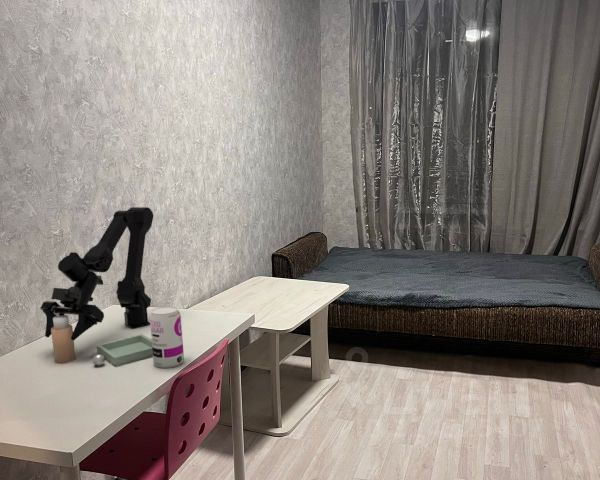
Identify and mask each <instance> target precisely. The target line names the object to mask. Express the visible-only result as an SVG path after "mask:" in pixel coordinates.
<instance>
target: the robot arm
mask: <svg viewBox="0 0 600 480" xmlns="http://www.w3.org/2000/svg"><path fill="white" fill-rule="evenodd" d="M153 221H154V212H153V211H152V209H151V208H149V207H147V206H145V207H144V206H141V207H140V206H136V207H135V206H133V207H129V208H128V209H127V210H117V211H114V213H113V218H112V220H111V221H110V223H109V225H108V226H107V228H106V230H105V232H104V233H103V235H102V236H101V237H100V239H99V241H98V243H97V244H96V245H94V246H92V247H91V248H89V250H88V251H87V252H86V253H85V255H84V256H83V257H81V256H80V255H79V254H78V252H74V251H73V252H72V251H71V252H70V253H69V254H68V255H65V257H63V258H62V259H61V260H59V262H58V265H57V269H58V271H60V272H61V274H63V275H64V276H65V277H66V278H67V279H69V281H71V282H74V285H73V286H70V287H68V288H63V287H62V288H61V287H60V288H59V287H53V290H52V294H51V298H50V299H51V301H50V300H46V301H43V303H42V304H41V306H40V308H39V309H40V310H41V311H42V313H43V314H44V315H45V317H46V324H45V335H44V337H46V338H49V337H50V336H52V334H51V328H52V327H54V324H53V317H56V316H60V315H74V316H75V315H76V316H77V318H78V319H77V322H76V324H75V327H74V329H73V333H72V336H71V339H72V340H74V341H75V340H76V339H77V338H79V337H80V336H81V335H83V333H85V332H86V331H88V330H89V329H90V328H92V327H93V326H94V325H95V326H96V325H98V323H102V322H103V320H104V318H105V313H104V311H102V309H100V308H99V307H98V306H97V305H96V304H89V302H93V300H94V297H93V294H94V291H95V290H96V287H97V285H100V286H101V285H104V281H103V279H102V276H101V275H97V274H96V273H107V272H108V271H109V269H110V268H111V265H112V262H113V260H114V255H113V254H114V250H115V249H116V247H117V245H118V243H119V242H120V240H121V238H122V237H123V234H124V233H125V231H126V229H127V228H128V231H129V240H128V249H127V259H126V267H125V274H124V277H123V279H122V280H118V281H117V288H116V289H117V290H116V292H115V294H116V298H117V300H118V303H119V304H120V307H121V308H124V313H123V314H124V315H123V316H124V325H125V326H127V327H128V328H130V329H135V328H140V327H144V326H148V325H149V326H150V321H149V320H148V319H149V318H148V308H149V307H150V306H151V303H152V299H151V297H149V296H148V294H146V292H145V290H146V289H145V283H144V281H143V280H142V269H143V261H144V251H145V242H146V236H147V234H148V232H149V230H150V229H151V228H152V225H153ZM53 300H57V301H59V303H60V304H61V305H60V304H59V303H58V302H57V301H53ZM62 305H63V306H62Z"/></svg>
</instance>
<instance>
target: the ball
mask: <svg viewBox="0 0 600 480" xmlns="http://www.w3.org/2000/svg"><path fill="white" fill-rule="evenodd" d="M105 361H106V359H105V358H104V356H103V355H101V354H95V355H94V356H93V357H92V363H93V365H94V366H95V367H99V366H100V367H101V366H103V365H104V363H105Z"/></svg>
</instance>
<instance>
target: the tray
mask: <svg viewBox="0 0 600 480" xmlns="http://www.w3.org/2000/svg"><path fill="white" fill-rule="evenodd" d="M96 353H97V354H101V355H103V356H104V358H105V361H107V362H108V363H110V365H112V366H114V367H119V366H123V365H126V364H130V363H134V362H138V361H141V360H146V359H150V358H153V350H152V339H151V338H150V337H148V336H146V335H144V334H142V333H140V334H137V335H134V336H133V335H132V336H129V337H124V338H120V339H117V340H112V341H107V342H103V343H99V344H96ZM97 354H96V355H97Z"/></svg>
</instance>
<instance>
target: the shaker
mask: <svg viewBox="0 0 600 480" xmlns="http://www.w3.org/2000/svg"><path fill="white" fill-rule="evenodd" d="M69 321H70V320H69V315H68V314H64V315H60V316H56V317H53V324H54V327H52V328H51V340H52V350H53V359H54V363H55V364H68V363H71V362H73V361H75V360H76V357H77V356H76V349H75V340H72V339H71V336H72V333H73V331H74V329H73V325H72V324H70V322H69Z"/></svg>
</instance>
